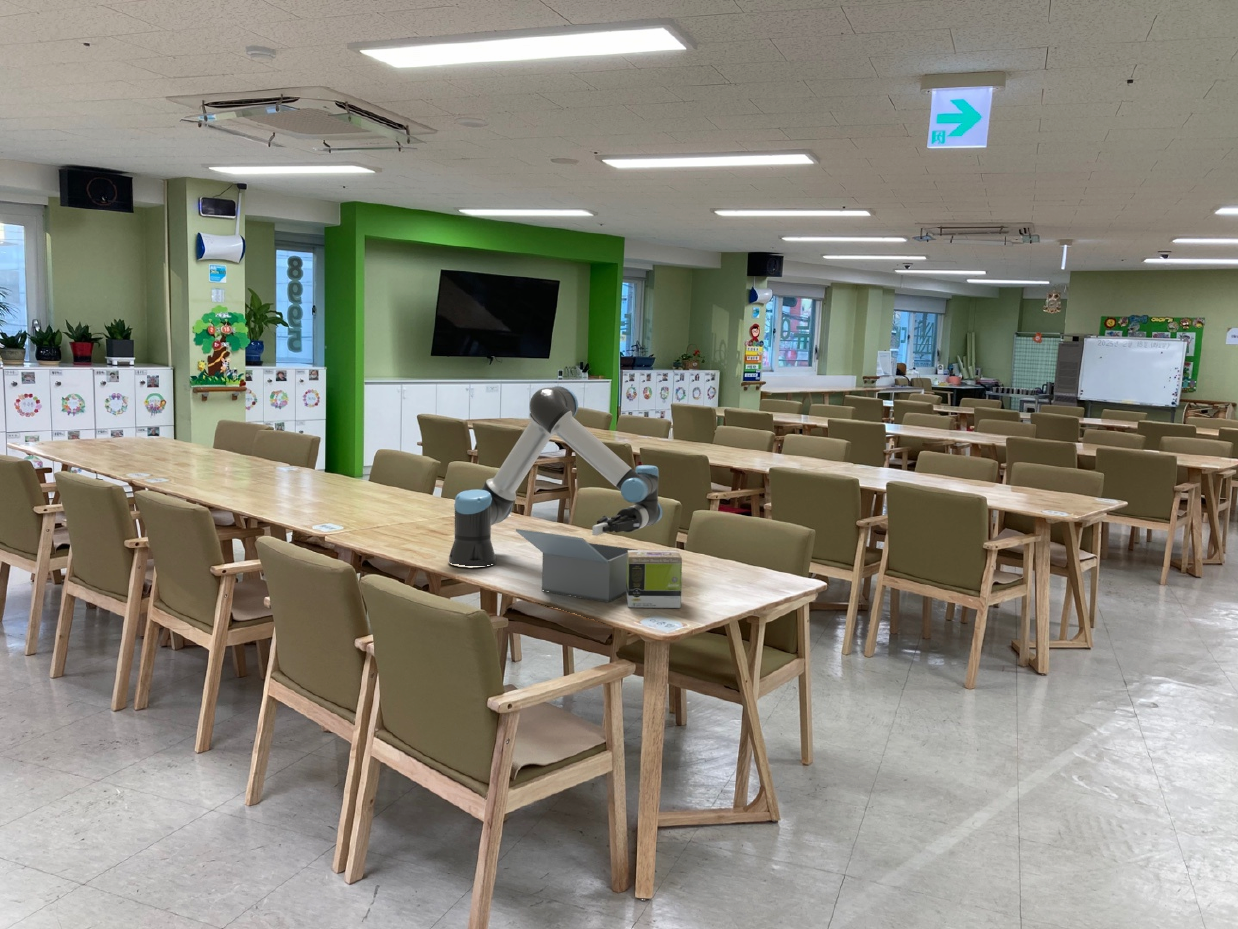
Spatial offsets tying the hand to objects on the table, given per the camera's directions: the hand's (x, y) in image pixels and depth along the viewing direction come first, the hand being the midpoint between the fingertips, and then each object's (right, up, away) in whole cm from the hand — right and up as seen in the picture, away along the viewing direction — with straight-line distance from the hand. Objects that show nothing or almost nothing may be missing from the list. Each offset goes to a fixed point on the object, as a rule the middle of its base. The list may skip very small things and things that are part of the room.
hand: (594, 530), depth 276 cm
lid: (-9, -3, -12) cm, 15 cm away
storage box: (-2, -18, +5) cm, 19 cm away
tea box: (+17, -20, -8) cm, 27 cm away
